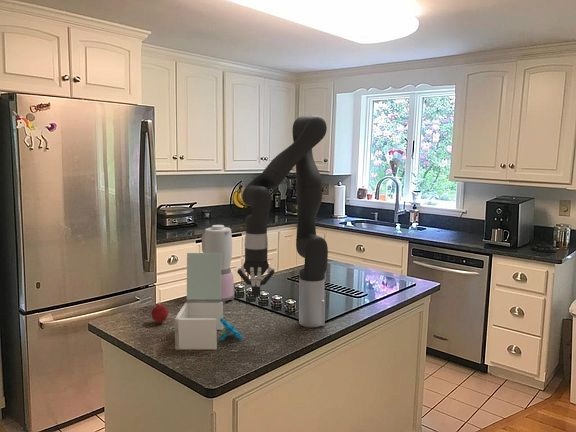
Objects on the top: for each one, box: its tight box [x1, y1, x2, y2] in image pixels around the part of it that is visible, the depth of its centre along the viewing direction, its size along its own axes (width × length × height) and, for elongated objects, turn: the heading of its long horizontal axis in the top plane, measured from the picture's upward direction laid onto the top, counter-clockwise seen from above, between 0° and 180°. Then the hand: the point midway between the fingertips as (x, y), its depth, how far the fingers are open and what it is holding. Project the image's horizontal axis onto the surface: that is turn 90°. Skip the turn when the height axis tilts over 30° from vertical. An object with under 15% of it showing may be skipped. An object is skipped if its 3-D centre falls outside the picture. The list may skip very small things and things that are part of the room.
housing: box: [173, 301, 224, 350], centre depth 161 cm, size 13×17×10 cm
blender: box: [201, 224, 235, 305], centre depth 201 cm, size 16×12×32 cm
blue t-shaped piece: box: [219, 317, 243, 341], centre depth 161 cm, size 11×6×10 cm
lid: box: [186, 252, 221, 302], centre depth 168 cm, size 12×17×1 cm
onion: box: [150, 301, 169, 324], centre depth 175 cm, size 6×6×8 cm
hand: (255, 296), depth 159 cm, fingers closed
